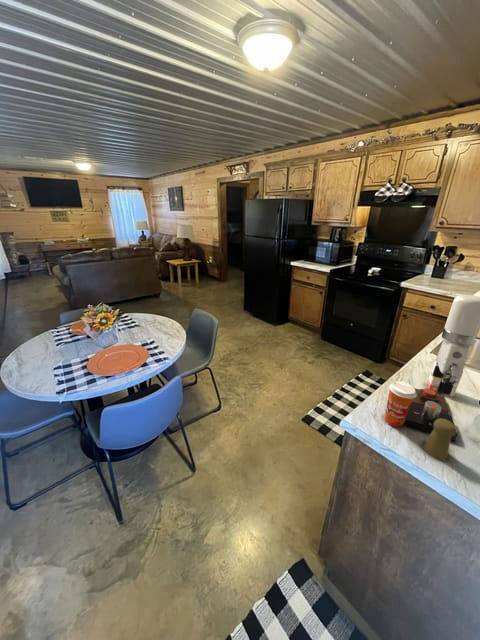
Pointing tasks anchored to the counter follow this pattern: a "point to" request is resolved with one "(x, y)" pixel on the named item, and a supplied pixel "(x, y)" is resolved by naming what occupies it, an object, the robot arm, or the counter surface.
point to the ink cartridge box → (435, 381)
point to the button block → (437, 399)
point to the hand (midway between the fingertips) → (440, 384)
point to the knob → (431, 411)
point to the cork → (440, 439)
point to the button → (429, 393)
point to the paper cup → (399, 403)
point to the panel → (424, 421)
